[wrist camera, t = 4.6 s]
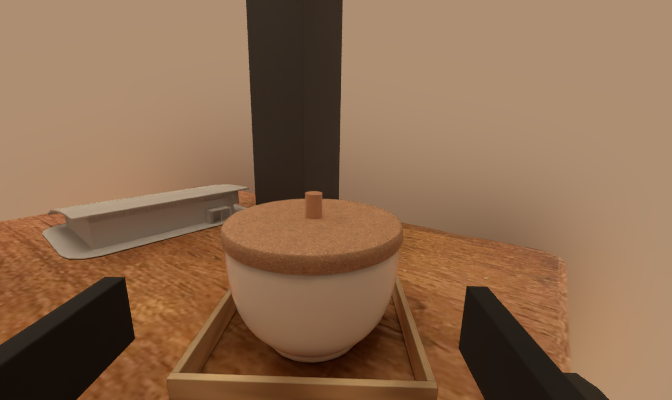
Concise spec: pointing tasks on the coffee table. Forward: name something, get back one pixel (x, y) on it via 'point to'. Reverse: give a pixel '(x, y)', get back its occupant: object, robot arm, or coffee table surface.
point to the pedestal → (295, 96)
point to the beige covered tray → (140, 220)
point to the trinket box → (311, 272)
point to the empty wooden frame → (296, 392)
